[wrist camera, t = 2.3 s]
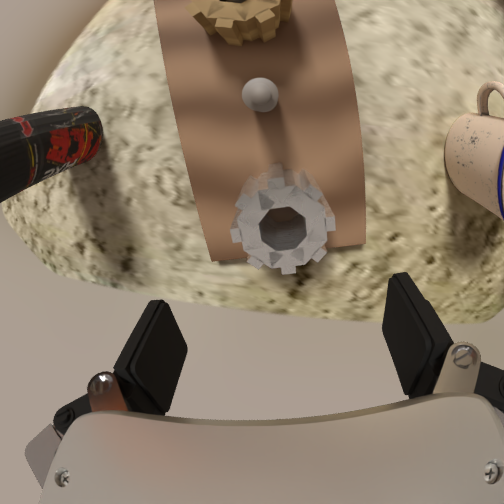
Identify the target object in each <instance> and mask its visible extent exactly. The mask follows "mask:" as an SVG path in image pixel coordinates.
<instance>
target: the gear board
mask: <svg viewBox="0 0 504 504" xmlns="http://www.w3.org/2000/svg"><path fill="white" fill-rule="evenodd" d="M154 5H155V12H156V18H157V25H158V31H159V37H160V43H161V48H162V54H163V59H164V65H165V70H166V75H167V80H168V85H169V90H170V95H171V100H172V105H173V109H174V114H175V119H176V123H177V128H178V132H179V137H180V141H181V145H182V150H183V154H184V158H185V162H186V166H187V170H188V174H189V179H190V183H191V187H192V190H193V194H194V198H195V202H196V206H197V210H198V214H199V217H200V221H201V225H202V229H203V232H204V236H205V240H206V243H207V247H208V250H209V254H210V257H211V261H212V262H213V261H222V260H230V259H239V258H248V253H247V252H245V251H244V250H243V245H242V242H237V243H233V241H232V237H231V233H230V227H231V225H232V222H233V219H234V217H235V214H236V211H237V209H238V208H237V207H236V206H235V203H236V201H237V199H238V196H239V194H240V192H241V189H242V187H243V185H244V183H245V182H246V181H247V179H248V178H249V177H250V175H251V176H253V177H254V178H256V179H258V177H259V176H260V175H261V173H264V172H268V168H269V164H274V163H282V167H283V170H286V169H292V170H294V171H295V172H296V173H299V172H300V171H301V170H302V168H304V169H305V170H306V171H307V172H309V173H310V174H311V175H313V177H314V179H315V180H316V182H317V184H318V186H319V188H320V189H321V191H322V193H323V195H324V197H325V199H326V200H327V202H328V204H329V206H330V208H331V210H332V212H333V214H334V216H335V228H336V231H327V241H326V243H325V247H326V248H333V247H341V246H350V245H358V244H366V205H365V179H364V163H363V150H362V139H361V130H360V121H359V113H358V106H357V99H356V93H355V86H354V81H353V75H352V70H351V64H350V59H349V55H348V50H347V46H346V41H345V37H344V33H343V29H342V25H341V21H340V18H339V14H338V11H337V7H336V4H335V0H154ZM297 213H298V212H297V211H295V210H294V209H293V208H291V207H282V208H274V209H270V210H269V211H268V212H267V213H266V215H267V216H269V217H270V218H272V219H273V220H274V221H276V222H282V221H290V220H292V219H293V218H294V217H295V216H296V215H297Z"/></svg>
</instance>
